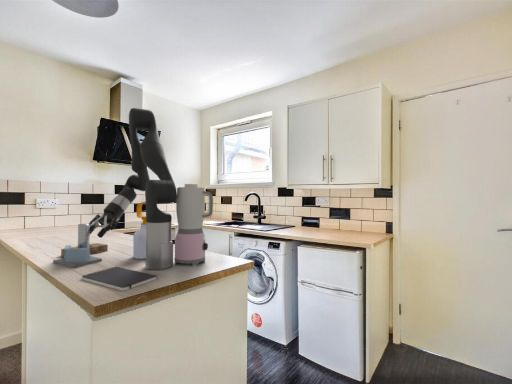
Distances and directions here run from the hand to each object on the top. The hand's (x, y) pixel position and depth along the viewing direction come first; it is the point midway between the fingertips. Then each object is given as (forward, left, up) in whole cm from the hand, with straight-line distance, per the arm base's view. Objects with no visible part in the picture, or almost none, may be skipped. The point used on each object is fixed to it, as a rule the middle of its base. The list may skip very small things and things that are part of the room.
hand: (92, 235), depth 113 cm
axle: (0, +4, -9) cm, 9 cm away
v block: (0, +7, -10) cm, 12 cm away
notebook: (-33, +11, -11) cm, 37 cm away
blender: (-41, -16, -10) cm, 45 cm away
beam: (+12, -4, -10) cm, 16 cm away
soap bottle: (-16, -13, -10) cm, 23 cm away
